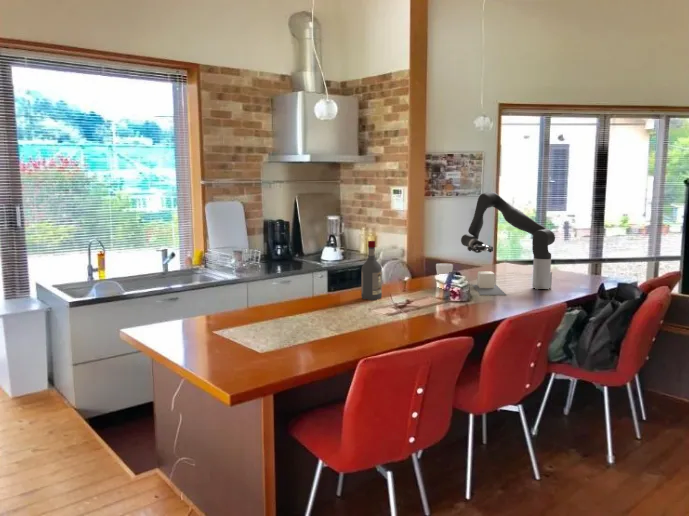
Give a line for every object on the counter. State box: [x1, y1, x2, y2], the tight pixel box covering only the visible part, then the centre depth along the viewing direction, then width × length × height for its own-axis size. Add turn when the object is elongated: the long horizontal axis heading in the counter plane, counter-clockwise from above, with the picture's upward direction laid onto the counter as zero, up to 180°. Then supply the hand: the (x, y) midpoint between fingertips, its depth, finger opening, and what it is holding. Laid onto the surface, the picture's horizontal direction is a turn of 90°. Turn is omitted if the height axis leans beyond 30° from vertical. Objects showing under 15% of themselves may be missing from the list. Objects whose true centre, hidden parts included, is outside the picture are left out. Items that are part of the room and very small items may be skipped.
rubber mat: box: [471, 284, 507, 296], centre depth 323 cm, size 28×14×1 cm, turn 177°
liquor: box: [360, 240, 383, 301], centre depth 302 cm, size 9×9×30 cm
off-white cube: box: [476, 270, 496, 288], centre depth 331 cm, size 8×8×8 cm
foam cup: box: [435, 263, 454, 276], centre depth 332 cm, size 10×9×13 cm
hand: (483, 250), depth 336 cm, fingers open, 8 cm apart
